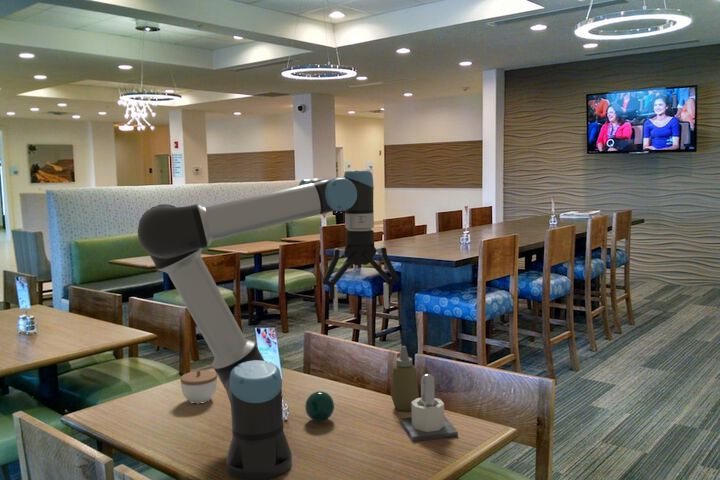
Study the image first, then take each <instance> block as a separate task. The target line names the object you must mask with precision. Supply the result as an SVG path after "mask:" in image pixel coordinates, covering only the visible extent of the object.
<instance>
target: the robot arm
mask: <svg viewBox="0 0 720 480" xmlns="http://www.w3.org/2000/svg"><path fill="white" fill-rule="evenodd" d="M374 190H375V188H374V177H373V173H372V171H370V170H367V169H365V170H363V169H362V170H361V169H360V170H358V169H357V170H346V171H344V173H343V177H339V176H338V177H335V178H332V177H331V178H327V177H326V178H313V177H311V178H303V179H301V180H300V181H299V184H298V186H294V187H290V188H289V187H288V188H284V189H280V190H276V191H272V192H267V193H263V194H258V195H253V196H250V197H249V196H248V197H246V198H241V199H237V200H236V199H235V200H231V201H227V202H222V203H218V204H214V205H209V206H202V205H200V204H198V203H196V204H193V205H192V204H191V205H188V206H186V205H185V206H175V205H172V204H158V205H155V206H152V207H150V208H149V209H147V210H146V211H145V212H143V214H142V215H141V217H140V219H139V221H138V225H137V238H138V241H139V243H140V246H141V247H142V249H144V250H145V252H146V253H148V255H149V257H150V259H151V261H153V264H154V265H155V267H156V269H157V270H158V271H159V272H164V273H166V274H167V275H168V277H169V278H170V280H171V282H172V283H173V285H174V287H175V289H176V290H177V293H178V295H179V296H180V298H181V299H182V302H183V303H184V305H185V307H186V308H187V310H188V312H189V313H190V316H191V317H192V319H193V321H194V323H195V324H196V326H197V328H198V330H199V331H200V334H201V335H202V337H203V339H204V341H205V342H206V344H207V346H208V348H209V349H210V351H211V353H212V355H213V356H214V357H213V358H214V359H213V361H212V365H211V366H212V367H213V371H214V372H215V373H216V374H217V378H219V380H220V382H221V384H222V386H223V387H224V389H225V391H226V394H227V397H228V400H229V403H230V411H231V412H230V413H231V416H230V417H231V434H232V435H231V441H230V443H229V446H228V447H229V448H228V451H227V454H226V458H225V471H226V473H227V475H228V476H230V477H231V478H232V479H235V480H271V479H275V478H278V477H280V476H281V475H283V474H285V473H286V472H288V471H289V470H290V469H291V467H292V465H293V455H292V450H291V448H290V445H289V442H288V439H287V437H286V434H285V432H284V431H285V430H284V419H283V418H284V415H283V390H282V388H283V379H282V374H281V370H280V368H279V367H278V366H277V365H276V364H274V363H273V362H272V361H271V362H268V361H266V360H265V359H264V357H263V355H262V353H261V352H260V350H259V348H258V346H257V344H256V342H255V341H254V340H250V339H246V337H245V335H244V333H243V332H242V329H241V328H240V326H239V323H238V322H237V321H236V319H235V317H234V315H233V313H232V311H231V310H230V307H229V306H228V304H227V302H226V300H225V298H224V297H223V294H222V293H221V291H220V290H219V287H218V286H217V284H216V282H215V279H214V278H213V276H212V274H211V273H210V271H209V269H208V267H207V266H206V263H205V261H204V260H203V258H202V251H203V249H204V248H208V247H210V245H211V244H212V242H214V241H218V240H222V239H225V238H230V237H233V236H237V235H241V234H247V233H249V232H254V231H258V230H262V229H265V228H270V227H274V226H279V225H283V224H286V223H291V222H293V221H298V220H302V219H303V220H304V219H307V218H310V217H314V216H319V215H323V214H328V213H332V212H335V211H336V212H343V211H344V218H345V219H344V224H345V225H344V227H345V228H346V231H345V232H344V233H345V248H344V249H340V248H337V247H336V248H334V249H333V255H332V257H331V260H330V263H329V265H328V267H327V269H326V271H325V274H324V276H323V278H322V279H321V280H322V281H321V282H322V284H323V285H325V286H328V288H329V289H328V292H329V293H328V294H329V299H331V300H332V299H333V311H334V312H335V313H338V312H339V305H338V304H339V300H338V296H339V295H338V292H339V291H338V286H337V285H336V284H337V283H338V282H339V281H340V280H341V278H342V277H343V275H344V274H345V273H346V272H347V271H348V269H349V268H350V267H351V266H352V265H354V266H360V265H362V266H367V265H368V264H370V265H371V266H372V267H373V268H374V270H375V271H377V273H378V274H379V276H381V278H382V279H384V280H385V282H382V283H383V284H382V285H383V307H384V308H385V309H386V310H388V309H390V307H389V306H390V305H389V304H390V302H389V301H390V299H389V296H392V294H393V284H394V283H395V282H399V281H400V277H399V276H398V274H397V272H396V270H395V267H394V266H393V264H392V262H391V260H390V259H389V256H388V250H387V248H386V247H384V246H383V245H382V246H380V247H375V231H374V229H373V228H375V226H374V225H375V222H374V219H375V214H374ZM376 254H378V256H380V257H381V259H382V261H383V262H384V264H385V266H386V268H387V270H388V272H389V274H390V276H391V277H389V275H388V274H387V273H386V272H385V270H384V269H383V268H382V267H381V266H380V265H379V264H378V262H376V260H375V259H374V256H375V255H376ZM343 255H344V256H345V257H346V260H345V261H344V263H343V264H342V265H341V266H340V267H339V269H338V271H337V272H336V273H334V275H333V272H334V270H335V269H336V267H337V264H338V262H339V259H340V258H341V257H343ZM332 275H333V277H332V278H331V276H332ZM330 278H331V280H330Z"/></svg>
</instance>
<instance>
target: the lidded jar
mask: <svg viewBox="0 0 720 480" xmlns="http://www.w3.org/2000/svg"><path fill="white" fill-rule="evenodd" d="M217 378H218V375H217V373H216V371H214V370H200V369H198V370H194V371H190V372H187V373H186V372H185V373H184V374H183V375H181V377H180V378H179V379H180V387H181V392H182V395H183V397H184V398H185V399H186V400H187V401H188V402H189V403H190V402H193V403H201V402H205V401H208V400H210V401H211V399H212V398H213V396H214V395H215V394H216V391H217V387H218V385H217V383H218V380H217ZM208 402H209V401H208Z"/></svg>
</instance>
